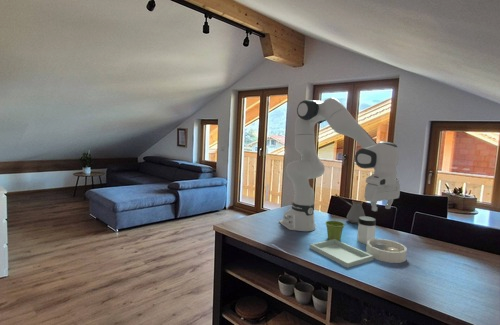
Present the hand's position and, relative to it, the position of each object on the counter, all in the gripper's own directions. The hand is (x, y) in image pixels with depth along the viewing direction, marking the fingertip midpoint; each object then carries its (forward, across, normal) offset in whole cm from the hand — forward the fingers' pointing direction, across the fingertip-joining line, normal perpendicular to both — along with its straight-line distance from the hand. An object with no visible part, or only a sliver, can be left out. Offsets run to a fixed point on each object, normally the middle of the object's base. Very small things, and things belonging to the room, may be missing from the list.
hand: (381, 209), depth 129 cm
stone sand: (+20, -3, +6) cm, 21 cm away
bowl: (+21, -3, +3) cm, 21 cm away
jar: (+22, -10, -13) cm, 27 cm away
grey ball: (+20, -3, 0) cm, 20 cm away
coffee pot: (+22, -31, -43) cm, 58 cm away
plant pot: (+22, +3, -22) cm, 31 cm away
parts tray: (+21, +15, -7) cm, 27 cm away
